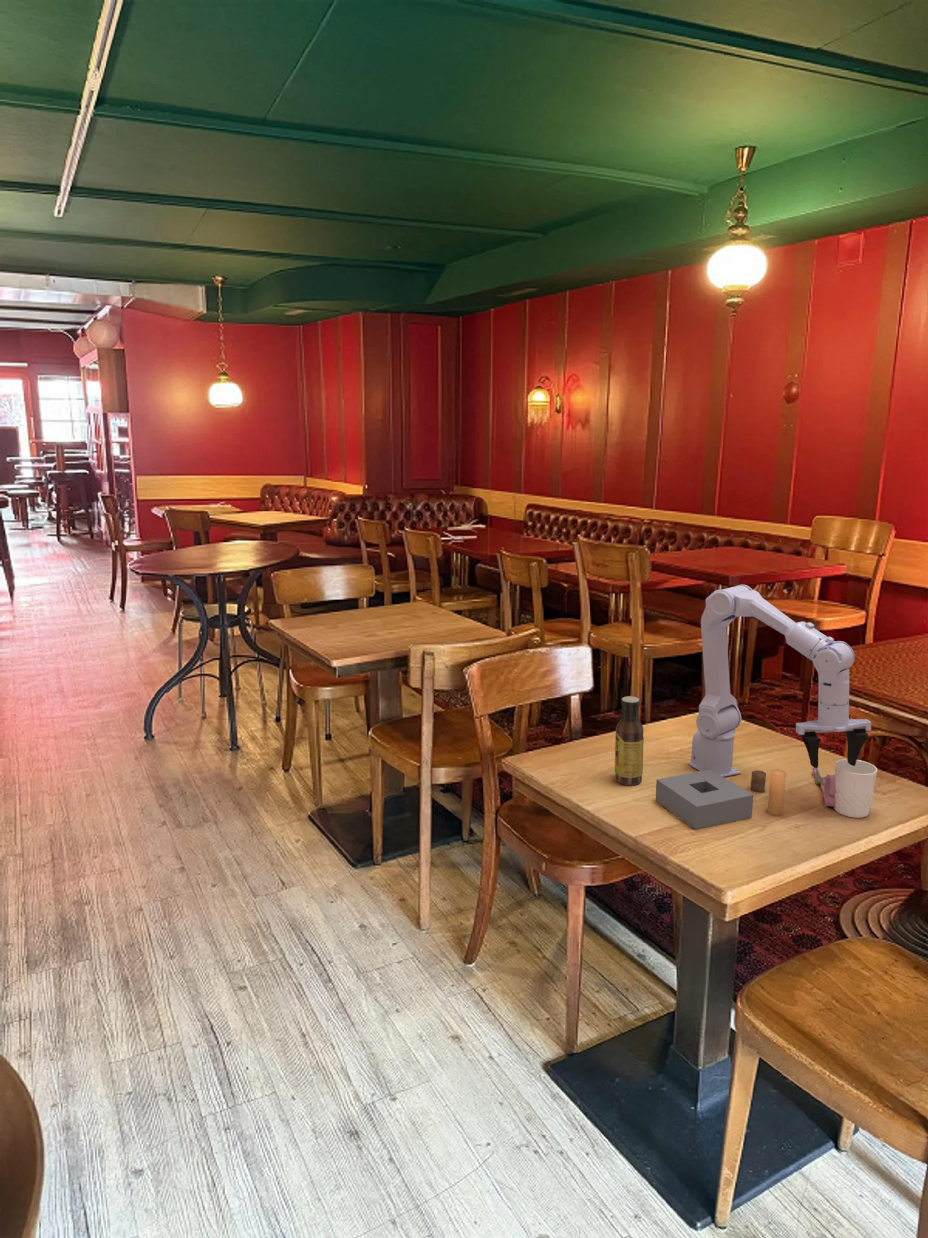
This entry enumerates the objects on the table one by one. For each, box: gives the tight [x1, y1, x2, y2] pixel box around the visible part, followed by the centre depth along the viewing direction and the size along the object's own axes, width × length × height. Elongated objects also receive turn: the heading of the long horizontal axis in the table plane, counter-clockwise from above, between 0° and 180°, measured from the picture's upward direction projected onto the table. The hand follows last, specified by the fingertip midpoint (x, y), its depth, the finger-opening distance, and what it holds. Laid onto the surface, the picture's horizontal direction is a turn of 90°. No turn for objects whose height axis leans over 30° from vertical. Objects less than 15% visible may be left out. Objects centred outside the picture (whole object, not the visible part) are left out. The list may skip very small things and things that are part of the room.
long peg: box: [767, 768, 787, 817], centre depth 169 cm, size 3×3×9 cm
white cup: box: [833, 758, 878, 819], centre depth 169 cm, size 8×8×10 cm
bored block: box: [655, 769, 754, 830], centre depth 172 cm, size 14×14×5 cm
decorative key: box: [812, 766, 836, 808], centre depth 180 cm, size 7×1×20 cm
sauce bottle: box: [614, 695, 645, 786], centre depth 184 cm, size 6×6×20 cm
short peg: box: [750, 770, 767, 794], centre depth 180 cm, size 3×3×4 cm
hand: (832, 765), depth 168 cm, fingers open, 7 cm apart
